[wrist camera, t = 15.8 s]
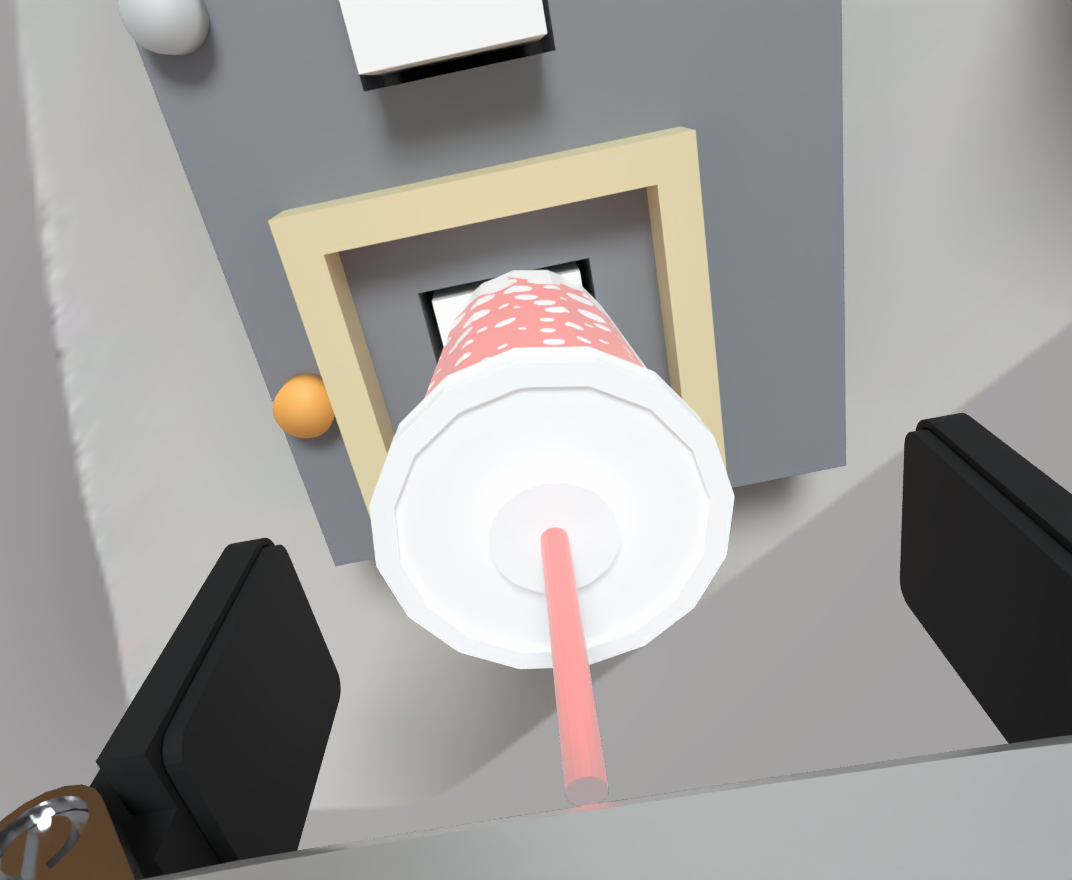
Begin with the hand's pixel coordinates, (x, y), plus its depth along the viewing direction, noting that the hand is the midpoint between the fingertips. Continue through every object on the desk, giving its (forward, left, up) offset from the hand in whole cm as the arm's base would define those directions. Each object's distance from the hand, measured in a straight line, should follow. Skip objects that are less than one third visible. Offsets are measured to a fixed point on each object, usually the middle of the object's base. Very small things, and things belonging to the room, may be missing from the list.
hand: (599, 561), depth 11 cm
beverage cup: (+1, 0, -11) cm, 10 cm away
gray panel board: (0, -5, -14) cm, 15 cm away
